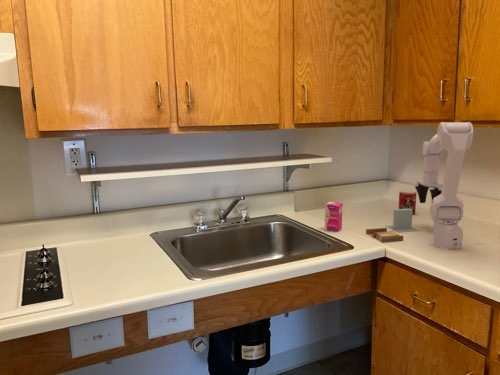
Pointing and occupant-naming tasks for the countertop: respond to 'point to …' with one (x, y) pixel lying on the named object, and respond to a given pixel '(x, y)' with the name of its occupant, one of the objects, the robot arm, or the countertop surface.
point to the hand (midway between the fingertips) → (428, 204)
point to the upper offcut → (387, 234)
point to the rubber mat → (403, 229)
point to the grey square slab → (402, 219)
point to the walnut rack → (383, 239)
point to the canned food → (407, 200)
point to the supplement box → (333, 216)
